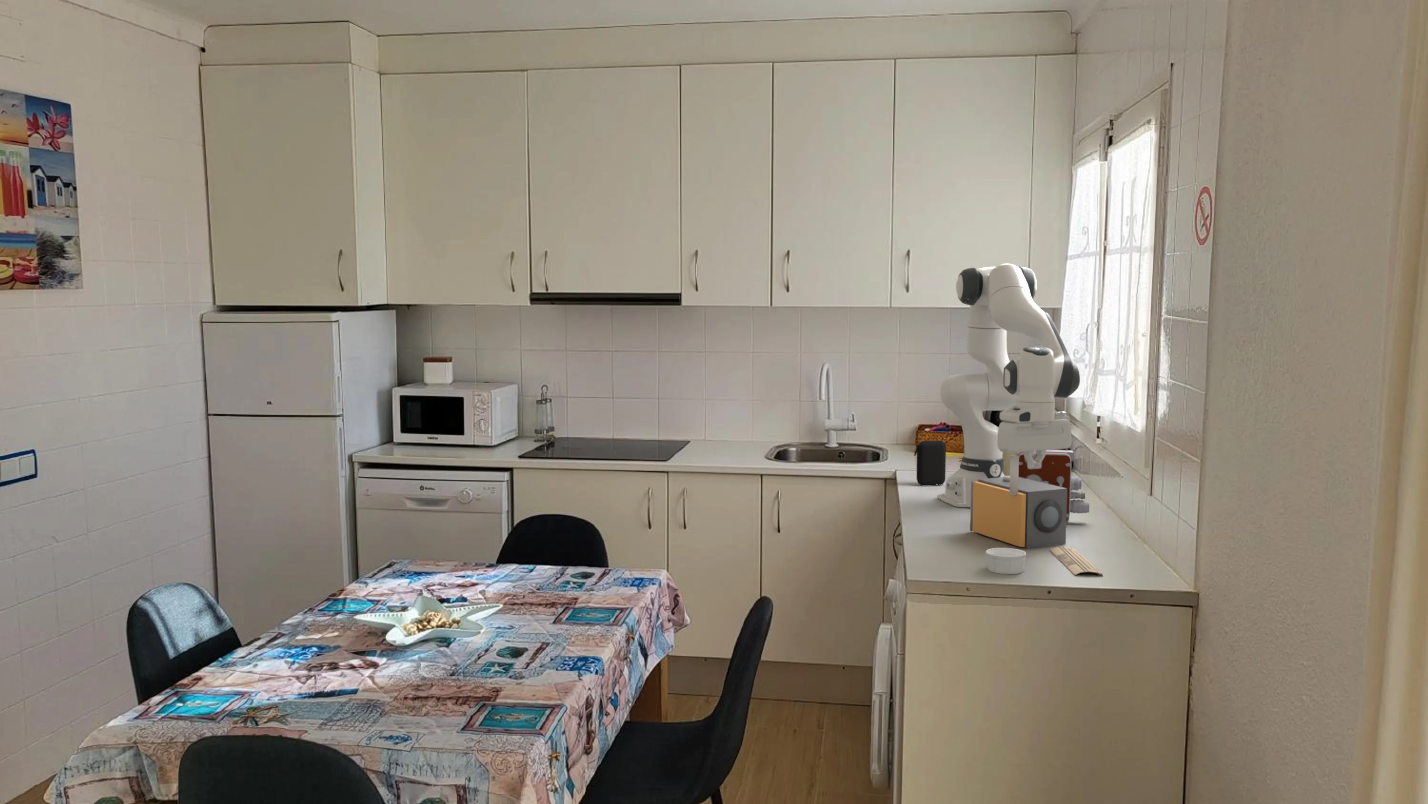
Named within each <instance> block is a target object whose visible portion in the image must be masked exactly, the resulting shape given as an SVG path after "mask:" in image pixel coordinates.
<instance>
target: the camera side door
mask: <svg viewBox="0 0 1428 804" xmlns="http://www.w3.org/2000/svg"><path fill="white" fill-rule="evenodd" d="M1018 474H1019V456H1010V490H1008V489H1004V488H1000V487H996V486H992V485H988V484H984V483H981V482H977V481H971V507H970V511H969V513H970V516H969V517H970V518H969V520H970V521H969V531H971V532H973V533H977V534H980V535H983V536H986V537H989V538H992V539H995V540H999V541H1002V542H1004V543H1007V544H1011V545H1013V546H1016V547H1019V548H1024V547H1025V515H1026V494H1023V493H1019V492H1018Z"/></svg>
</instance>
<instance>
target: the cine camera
mask: <svg viewBox="0 0 1428 804" xmlns="http://www.w3.org/2000/svg"><path fill="white" fill-rule="evenodd" d="M1016 456H1019V474H1018V477H1021V478H1025V479H1029V480H1034V481H1038V482H1042V483H1046V484H1050V485H1055V486H1059V487H1063V488H1067V514H1066V525H1067V524H1068V523H1069V521H1070V515H1071V513H1072V514H1088V513H1089V512H1090V501H1088V500H1085V499H1086V492H1085V491H1083V492H1078V491H1079V490H1081V489H1082V485H1083V484H1082V482H1083V481H1082V478H1081V477H1079V476H1078V475H1077V476H1073V475H1072V462H1074V461H1075V452H1074V451H1073V450H1068V449H1067V450H1066V449H1065V450H1064V449H1054V450H1046V455H1045V457H1044V459H1043V460H1042V464H1041V468H1039V469H1028V467H1027V460H1026V458H1025V456H1024V452H1016ZM1036 456H1037V454H1036V451H1034V455H1032V458H1033V460H1034V461H1035V459H1036Z"/></svg>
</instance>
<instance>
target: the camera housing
mask: <svg viewBox="0 0 1428 804" xmlns="http://www.w3.org/2000/svg"><path fill="white" fill-rule="evenodd" d="M978 482H981V483H984V484H988V485H992V486H996V487H1000V488H1004V489H1008V490H1010V476H1003V477H1000V478H987V479H978ZM1018 492H1019V493H1023V494H1026V515H1025V547H1023V548H1024V549H1031V548H1033V547H1034V548H1043V547H1049V546H1050V547H1051V546H1058V545H1066V543H1067V542H1066V539H1067V538H1066V537H1067V524H1066V514H1067V488H1063V487H1059V486H1055V485H1050V484H1046V483H1042V482H1038V481H1034V480H1029V479H1025V478H1021V477H1018ZM1042 546H1043V547H1042Z"/></svg>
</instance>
